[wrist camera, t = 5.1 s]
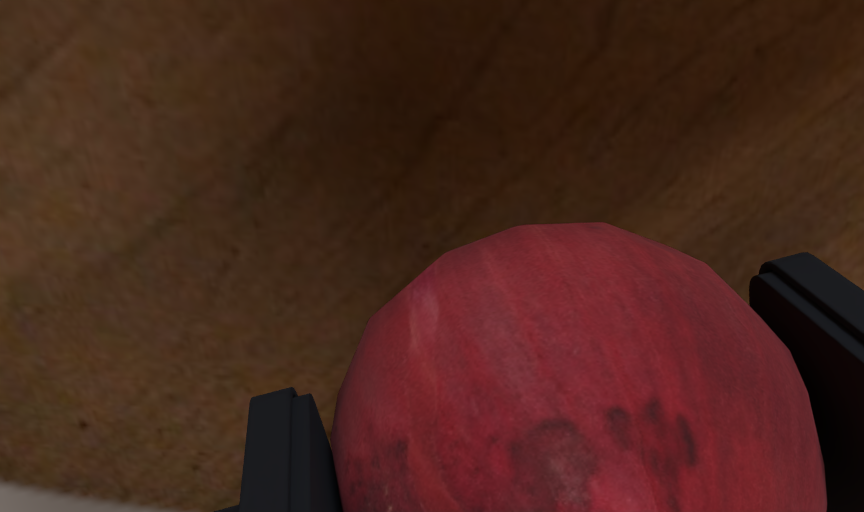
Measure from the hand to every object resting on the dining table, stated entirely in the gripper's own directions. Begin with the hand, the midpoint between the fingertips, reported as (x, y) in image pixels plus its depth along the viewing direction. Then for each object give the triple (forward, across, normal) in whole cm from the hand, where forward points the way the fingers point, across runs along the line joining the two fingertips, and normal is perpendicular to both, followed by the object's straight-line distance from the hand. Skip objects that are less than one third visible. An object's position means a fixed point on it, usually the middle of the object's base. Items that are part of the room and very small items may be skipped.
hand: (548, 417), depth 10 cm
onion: (+3, 0, 0) cm, 3 cm away
